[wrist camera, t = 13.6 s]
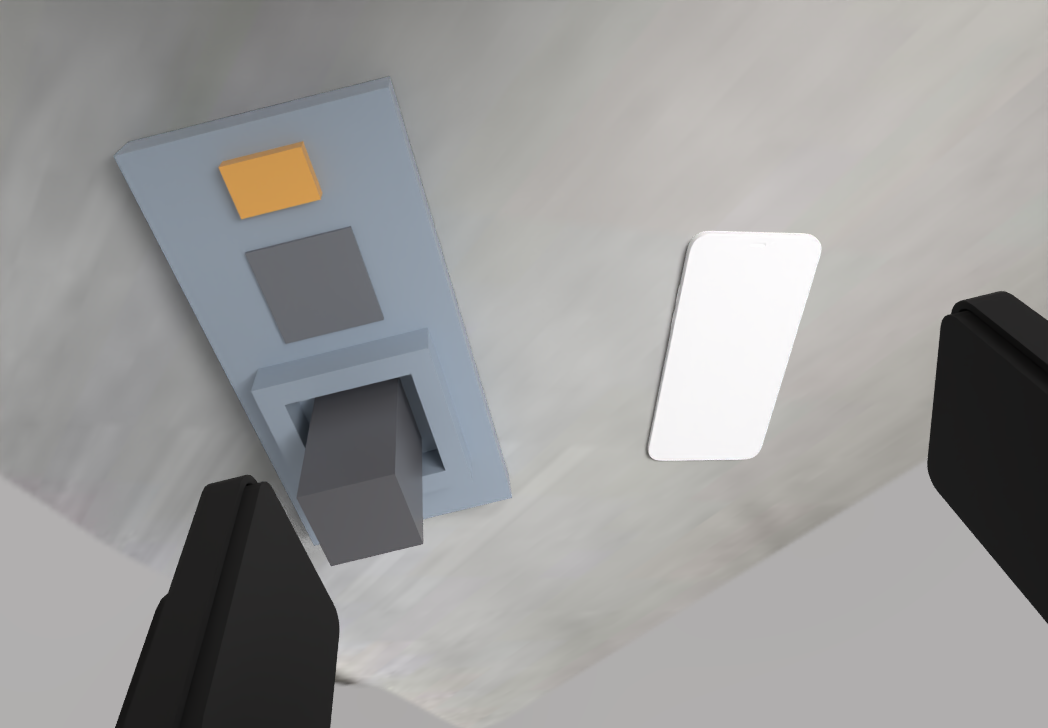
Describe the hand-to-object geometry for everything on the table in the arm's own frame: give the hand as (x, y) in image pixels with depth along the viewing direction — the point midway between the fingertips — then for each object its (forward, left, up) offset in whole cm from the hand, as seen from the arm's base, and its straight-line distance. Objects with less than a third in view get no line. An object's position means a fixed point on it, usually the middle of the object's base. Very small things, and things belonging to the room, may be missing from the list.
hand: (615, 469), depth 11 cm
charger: (+16, -10, -26) cm, 32 cm away
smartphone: (+19, +10, -29) cm, 36 cm away
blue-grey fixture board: (+12, -10, -28) cm, 32 cm away
